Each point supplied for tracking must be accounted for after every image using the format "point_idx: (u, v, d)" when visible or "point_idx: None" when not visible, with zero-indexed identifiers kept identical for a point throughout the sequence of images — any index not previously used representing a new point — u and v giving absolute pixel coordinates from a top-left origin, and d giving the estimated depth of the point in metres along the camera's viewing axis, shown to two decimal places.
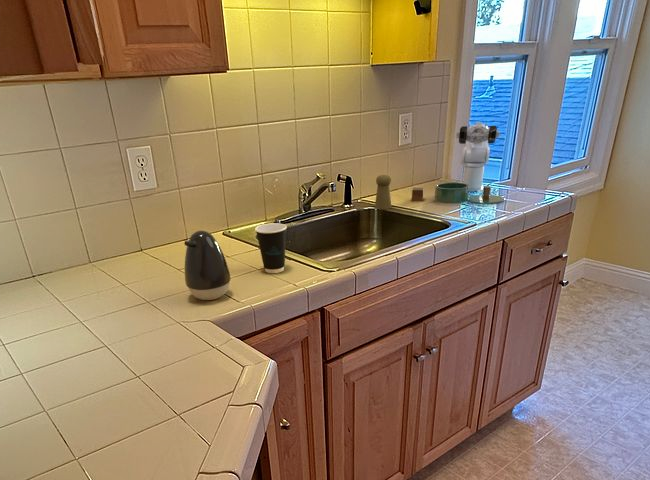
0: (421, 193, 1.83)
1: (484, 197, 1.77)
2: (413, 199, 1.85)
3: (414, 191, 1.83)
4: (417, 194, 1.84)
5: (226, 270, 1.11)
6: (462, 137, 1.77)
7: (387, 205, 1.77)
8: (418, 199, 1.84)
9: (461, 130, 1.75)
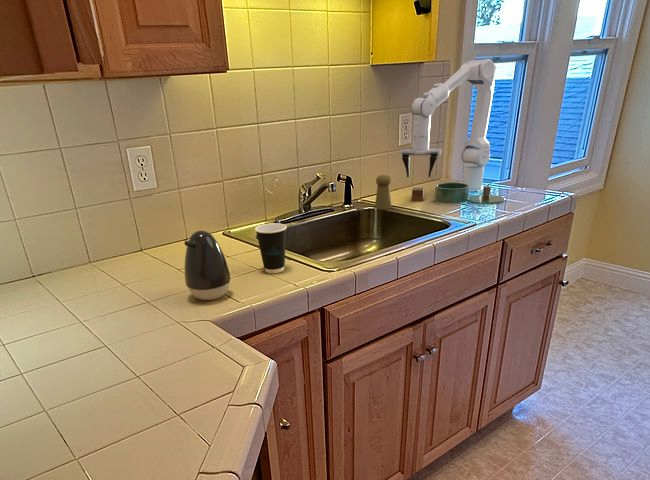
0: (421, 193, 1.83)
1: (484, 197, 1.77)
2: (413, 199, 1.85)
3: (414, 191, 1.83)
4: (417, 194, 1.84)
5: (226, 270, 1.11)
6: None
7: (387, 205, 1.77)
8: (418, 199, 1.84)
9: None
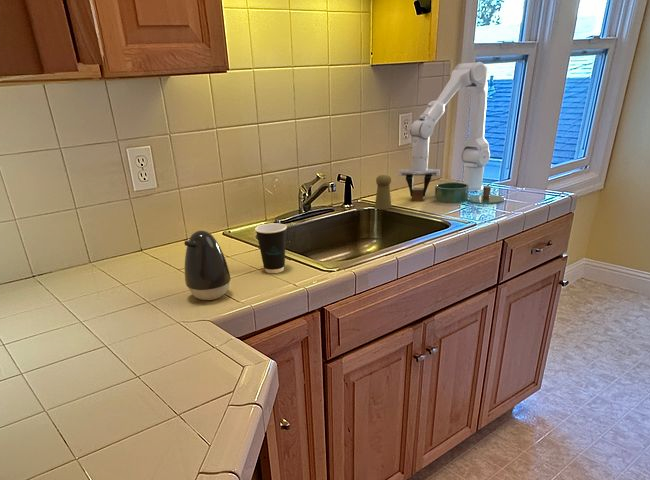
0: (421, 193, 1.83)
1: (484, 197, 1.77)
2: (413, 199, 1.85)
3: (414, 191, 1.83)
4: (417, 194, 1.84)
5: (226, 270, 1.11)
6: None
7: (387, 205, 1.77)
8: (418, 199, 1.84)
9: None
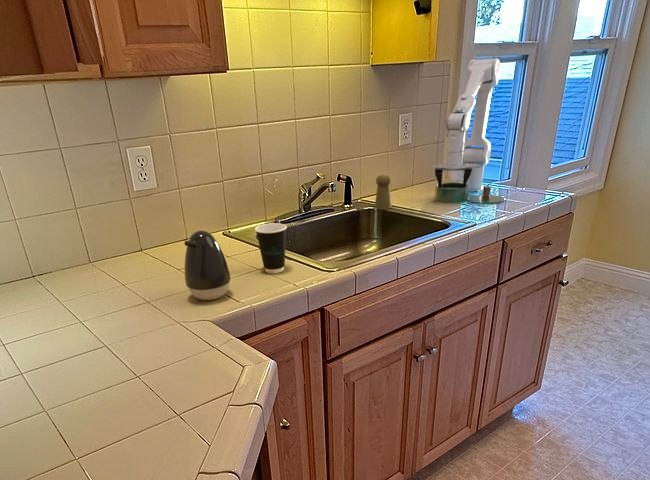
0: None
1: (484, 197, 1.77)
2: None
3: None
4: None
5: (226, 270, 1.11)
6: None
7: (387, 205, 1.77)
8: None
9: None
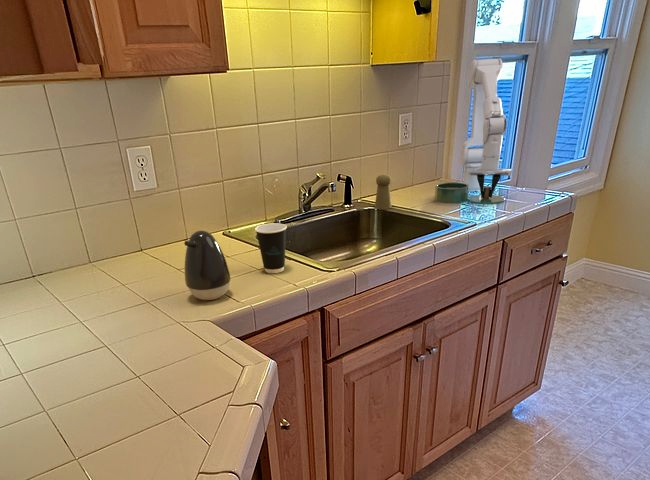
0: None
1: (484, 197, 1.77)
2: None
3: None
4: None
5: (226, 270, 1.11)
6: None
7: (387, 205, 1.77)
8: None
9: (478, 182, 1.74)
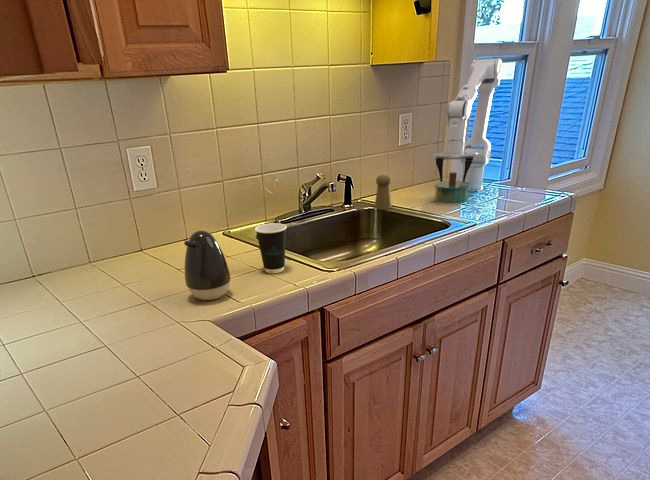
0: None
1: (450, 183, 1.77)
2: None
3: None
4: None
5: (226, 270, 1.11)
6: None
7: (387, 205, 1.77)
8: None
9: (437, 166, 1.76)
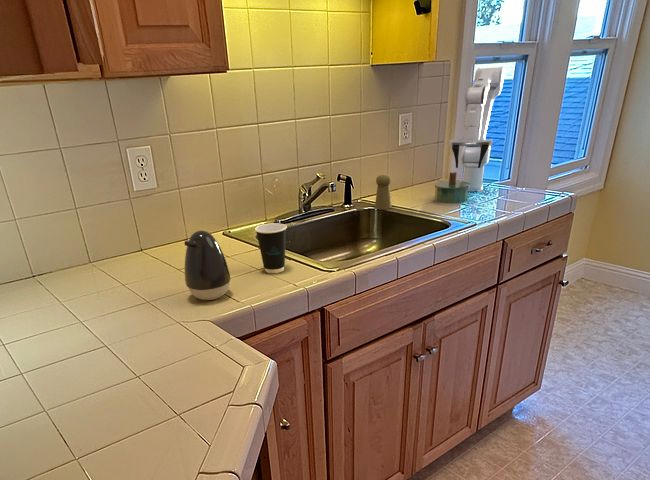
0: None
1: (450, 183, 1.77)
2: None
3: None
4: None
5: (226, 270, 1.11)
6: None
7: (387, 205, 1.77)
8: None
9: (453, 152, 1.78)
